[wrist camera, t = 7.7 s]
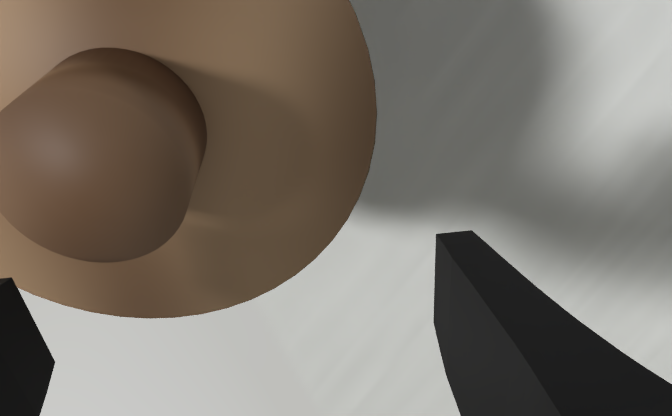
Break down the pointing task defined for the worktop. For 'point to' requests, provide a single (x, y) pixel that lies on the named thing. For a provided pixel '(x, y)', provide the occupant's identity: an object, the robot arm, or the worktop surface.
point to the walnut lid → (177, 147)
